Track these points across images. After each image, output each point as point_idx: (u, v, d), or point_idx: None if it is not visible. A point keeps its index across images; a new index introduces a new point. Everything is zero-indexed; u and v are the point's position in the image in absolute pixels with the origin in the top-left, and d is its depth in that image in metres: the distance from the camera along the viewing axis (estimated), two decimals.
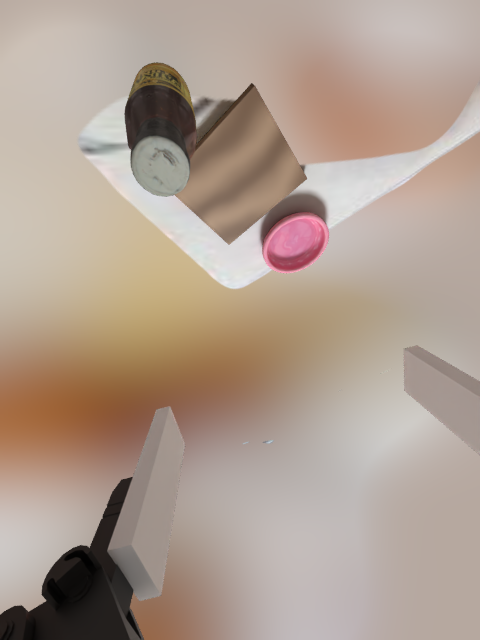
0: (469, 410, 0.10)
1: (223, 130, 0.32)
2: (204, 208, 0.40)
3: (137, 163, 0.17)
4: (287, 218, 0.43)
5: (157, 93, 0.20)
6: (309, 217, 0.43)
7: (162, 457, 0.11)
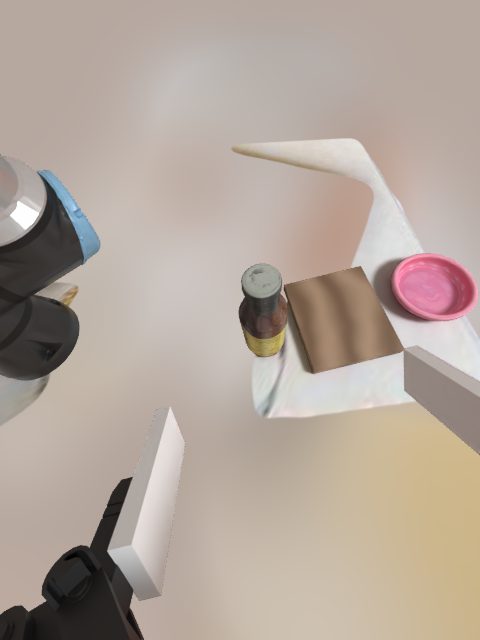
0: (469, 410, 0.10)
1: (298, 310, 0.44)
2: (350, 351, 0.40)
3: (250, 290, 0.25)
4: (393, 285, 0.43)
5: (243, 299, 0.32)
6: (399, 267, 0.44)
7: (162, 457, 0.11)
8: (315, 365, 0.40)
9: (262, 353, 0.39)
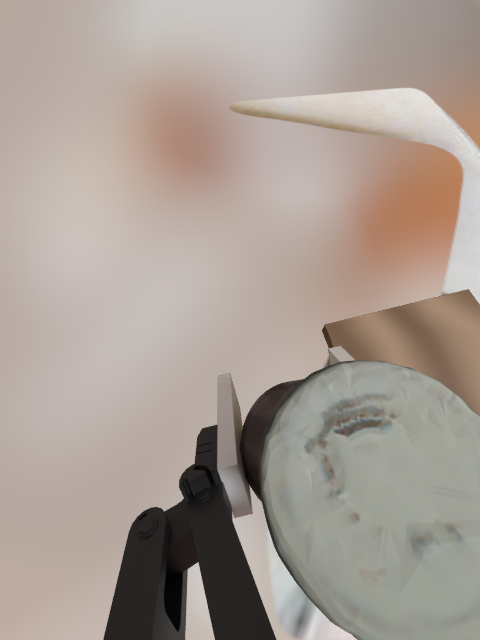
0: None
1: None
2: None
3: (328, 574, 0.04)
4: None
5: (255, 411, 0.11)
6: None
7: (234, 411, 0.13)
8: None
9: None
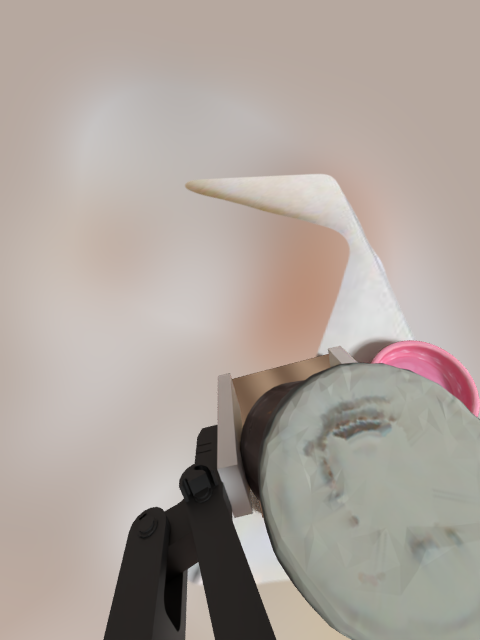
0: None
1: None
2: None
3: (326, 578, 0.04)
4: None
5: (255, 412, 0.11)
6: (377, 361, 0.34)
7: (234, 411, 0.13)
8: None
9: None
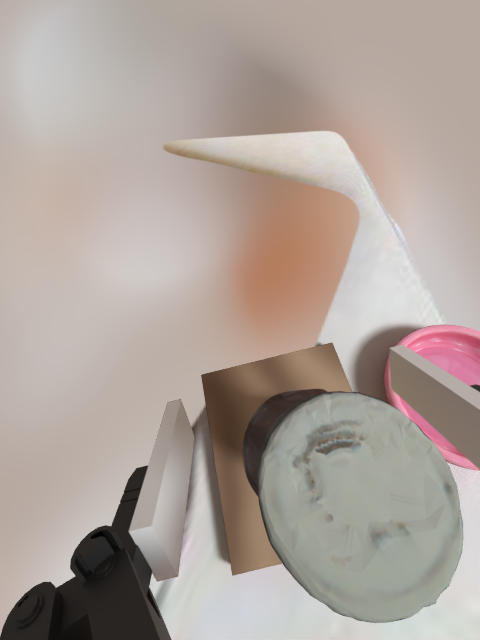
0: (448, 406, 0.11)
1: (218, 429, 0.24)
2: None
3: (308, 560, 0.05)
4: (387, 389, 0.23)
5: (256, 420, 0.12)
6: None
7: (175, 447, 0.12)
8: (235, 559, 0.20)
9: None
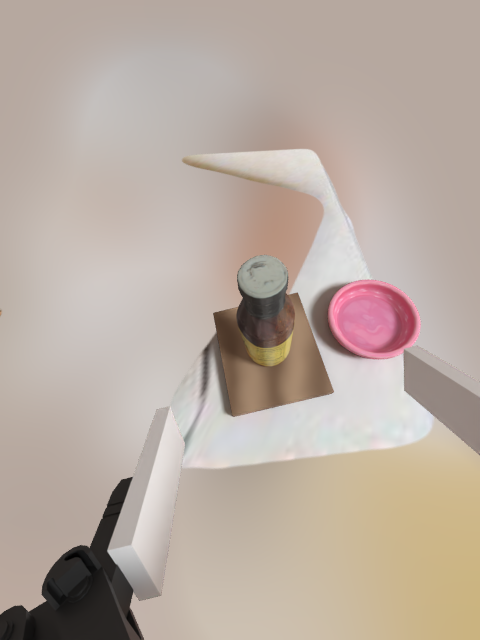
0: (469, 410, 0.10)
1: (224, 343, 0.39)
2: (274, 393, 0.35)
3: (248, 288, 0.20)
4: (328, 318, 0.38)
5: None
6: (336, 296, 0.39)
7: (162, 457, 0.11)
8: (234, 408, 0.35)
9: (265, 363, 0.34)
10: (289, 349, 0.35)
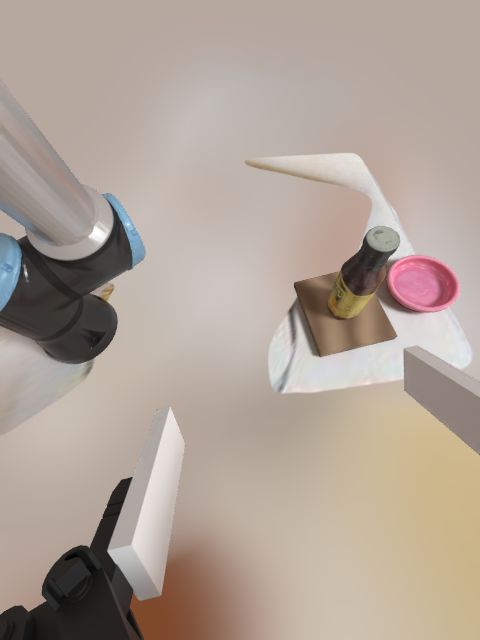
0: (469, 410, 0.10)
1: (307, 304, 0.51)
2: (351, 338, 0.47)
3: (376, 245, 0.32)
4: (388, 283, 0.50)
5: (346, 261, 0.39)
6: (393, 267, 0.51)
7: (162, 457, 0.11)
8: (322, 349, 0.47)
9: (347, 314, 0.46)
10: None
